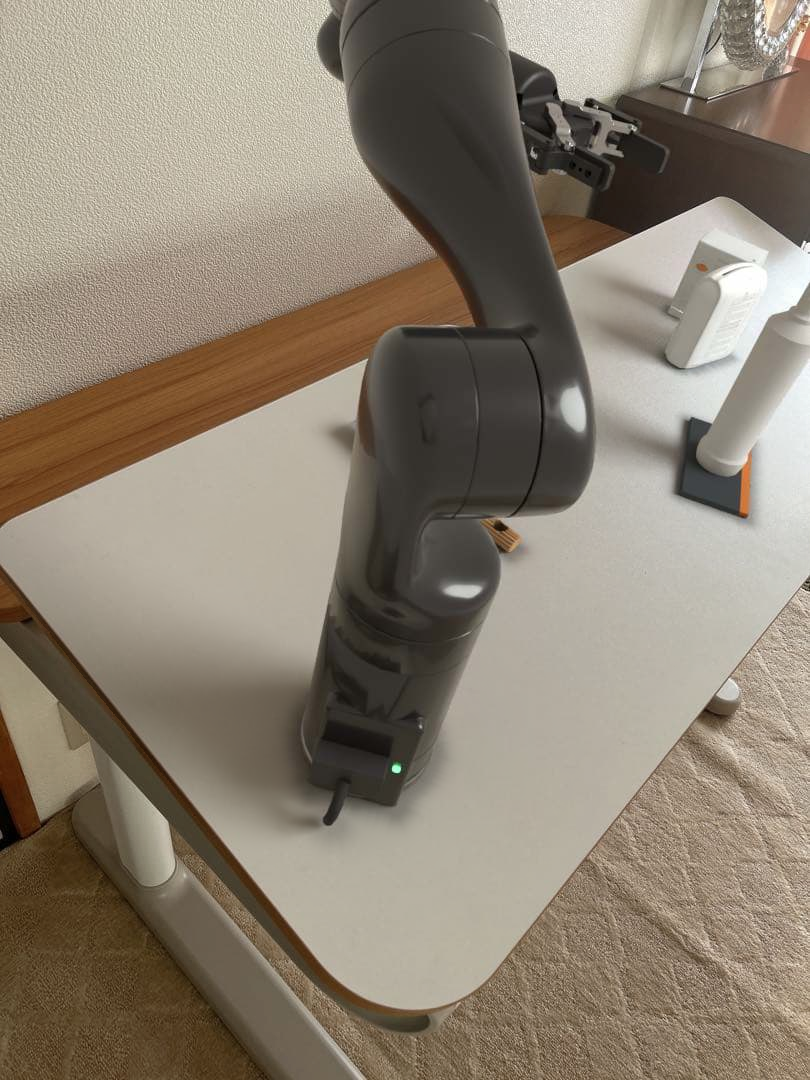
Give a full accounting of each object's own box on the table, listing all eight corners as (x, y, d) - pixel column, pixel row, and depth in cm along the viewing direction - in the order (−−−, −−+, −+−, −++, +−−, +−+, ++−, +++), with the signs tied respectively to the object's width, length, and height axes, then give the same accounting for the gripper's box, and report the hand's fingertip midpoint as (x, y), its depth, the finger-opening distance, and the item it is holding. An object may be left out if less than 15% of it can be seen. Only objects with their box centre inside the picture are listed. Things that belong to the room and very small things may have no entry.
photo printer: (708, 338, 114) (753, 250, 105) (734, 357, 112) (781, 268, 103) (657, 354, 108) (700, 263, 100) (682, 374, 106) (728, 282, 98)
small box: (733, 323, 118) (771, 251, 111) (721, 339, 114) (760, 265, 107) (678, 298, 120) (712, 225, 113) (665, 313, 116) (699, 239, 109)
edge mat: (746, 518, 89) (749, 514, 89) (679, 495, 90) (682, 490, 89) (749, 441, 99) (752, 437, 99) (689, 420, 100) (691, 416, 99)
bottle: (708, 479, 92) (838, 259, 74) (685, 446, 95) (803, 228, 77) (749, 477, 93) (885, 261, 76) (724, 445, 97) (849, 231, 79)
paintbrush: (375, 400, 86) (532, 526, 79) (369, 421, 88) (522, 546, 81) (346, 413, 83) (506, 544, 76) (341, 435, 85) (496, 565, 78)
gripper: (450, 56, 73) (607, 136, 66) (551, 43, 81) (699, 113, 75) (430, 147, 78) (574, 230, 71) (528, 126, 86) (664, 198, 80)
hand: (638, 170), depth 73 cm, fingers open, 8 cm apart
